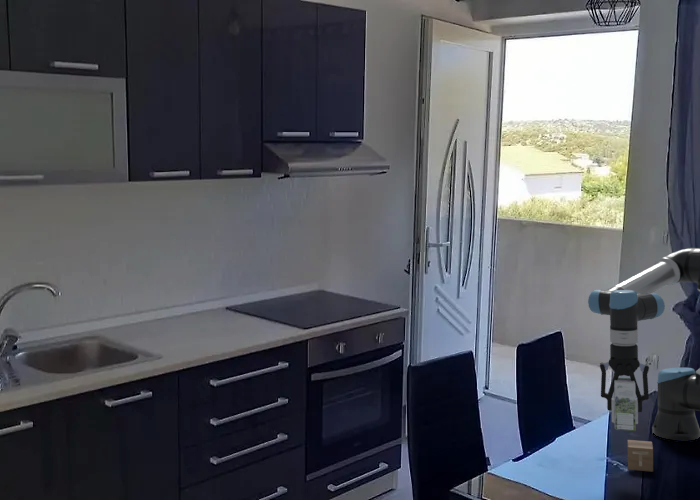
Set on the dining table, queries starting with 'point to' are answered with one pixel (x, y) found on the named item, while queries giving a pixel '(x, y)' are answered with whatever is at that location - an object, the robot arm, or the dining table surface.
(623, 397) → the syrup box
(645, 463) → the letter cube
